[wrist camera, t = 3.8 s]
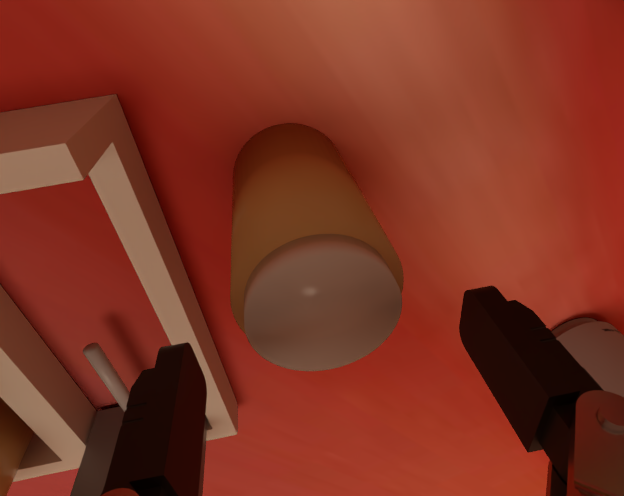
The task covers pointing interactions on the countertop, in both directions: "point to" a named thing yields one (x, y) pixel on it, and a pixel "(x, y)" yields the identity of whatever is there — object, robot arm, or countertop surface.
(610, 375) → the energy drink can
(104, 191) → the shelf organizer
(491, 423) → the countertop surface
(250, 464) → the countertop surface
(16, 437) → the jar
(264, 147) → the jar
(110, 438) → the pusher
